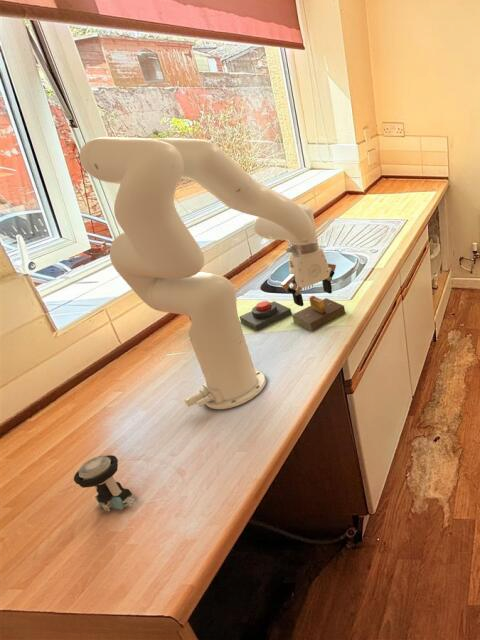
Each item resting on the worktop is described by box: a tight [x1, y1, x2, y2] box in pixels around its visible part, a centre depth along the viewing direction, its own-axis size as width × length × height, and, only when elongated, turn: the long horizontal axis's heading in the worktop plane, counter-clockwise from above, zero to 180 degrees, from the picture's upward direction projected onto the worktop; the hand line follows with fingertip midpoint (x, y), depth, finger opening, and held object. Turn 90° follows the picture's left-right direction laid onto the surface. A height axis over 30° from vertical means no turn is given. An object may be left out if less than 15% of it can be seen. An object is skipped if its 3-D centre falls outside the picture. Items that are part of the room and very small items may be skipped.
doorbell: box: [239, 301, 293, 332], centre depth 125 cm, size 11×9×4 cm
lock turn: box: [309, 295, 325, 313], centre depth 125 cm, size 5×1×4 cm, turn 59°
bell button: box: [255, 300, 271, 311], centre depth 124 cm, size 4×4×2 cm
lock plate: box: [292, 298, 346, 332], centre depth 126 cm, size 12×9×3 cm
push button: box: [73, 454, 138, 512], centre depth 69 cm, size 7×5×10 cm
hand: (314, 298), depth 123 cm, fingers open, 9 cm apart
